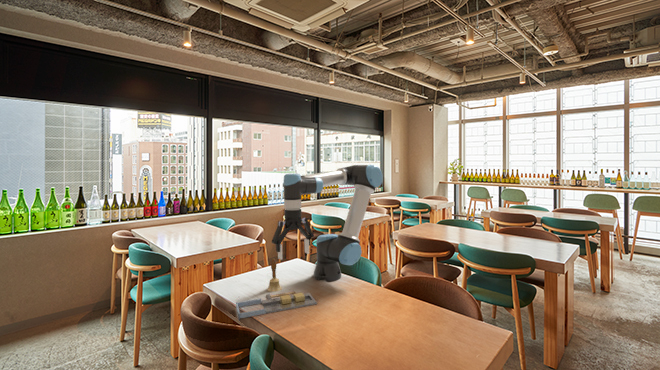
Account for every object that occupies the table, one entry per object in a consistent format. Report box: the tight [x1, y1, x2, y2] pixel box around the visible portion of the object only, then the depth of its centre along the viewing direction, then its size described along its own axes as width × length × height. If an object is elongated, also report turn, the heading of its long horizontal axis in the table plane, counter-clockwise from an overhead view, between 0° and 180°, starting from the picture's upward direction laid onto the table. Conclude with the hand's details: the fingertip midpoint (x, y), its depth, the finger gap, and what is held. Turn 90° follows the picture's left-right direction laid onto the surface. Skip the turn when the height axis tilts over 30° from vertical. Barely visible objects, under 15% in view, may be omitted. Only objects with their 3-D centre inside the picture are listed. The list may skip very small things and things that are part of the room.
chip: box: [279, 295, 291, 305], centre depth 135 cm, size 4×4×3 cm
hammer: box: [265, 291, 297, 300], centre depth 144 cm, size 13×5×2 cm, turn 112°
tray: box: [235, 298, 266, 322], centre depth 129 cm, size 11×11×3 cm
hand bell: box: [266, 258, 283, 292], centre depth 151 cm, size 8×8×16 cm
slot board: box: [261, 292, 318, 315], centre depth 135 cm, size 22×11×2 cm, turn 112°
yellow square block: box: [292, 292, 305, 303], centre depth 137 cm, size 4×4×3 cm
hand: (293, 256), depth 139 cm, fingers open, 13 cm apart
